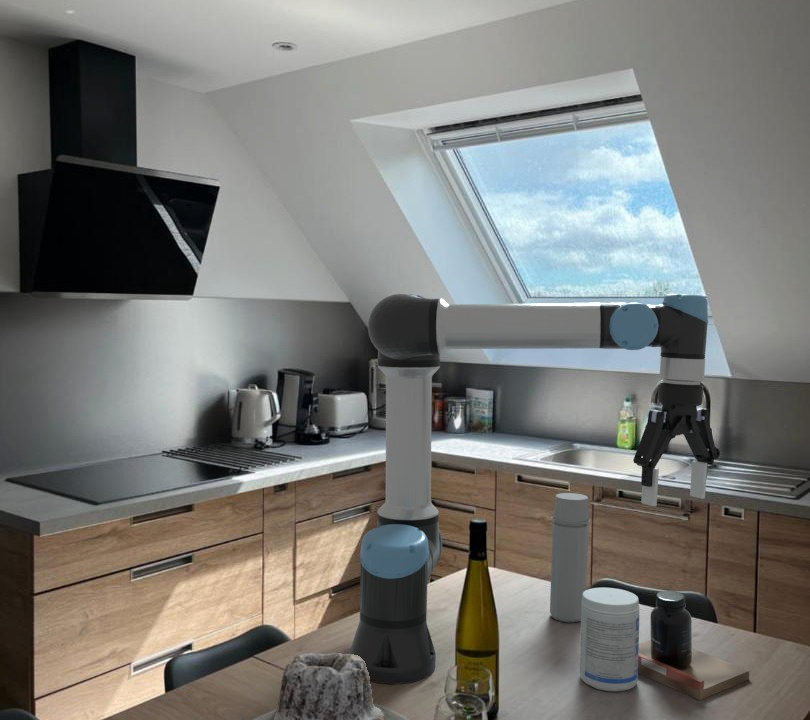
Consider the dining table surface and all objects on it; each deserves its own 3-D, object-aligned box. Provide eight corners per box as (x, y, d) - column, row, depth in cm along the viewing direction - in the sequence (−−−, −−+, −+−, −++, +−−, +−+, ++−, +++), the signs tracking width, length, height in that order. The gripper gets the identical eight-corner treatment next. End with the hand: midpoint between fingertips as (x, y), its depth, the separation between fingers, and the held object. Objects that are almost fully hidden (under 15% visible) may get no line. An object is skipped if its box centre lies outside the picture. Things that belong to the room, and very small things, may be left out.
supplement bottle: (644, 664, 145) (642, 597, 144) (660, 649, 150) (659, 585, 149) (683, 674, 141) (681, 605, 140) (698, 659, 146) (697, 592, 145)
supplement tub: (648, 690, 138) (651, 603, 137) (596, 696, 136) (599, 607, 135) (618, 666, 147) (621, 584, 147) (569, 671, 145) (572, 588, 144)
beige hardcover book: (611, 661, 149) (611, 644, 149) (661, 644, 158) (661, 628, 158) (698, 700, 135) (699, 682, 135) (748, 679, 143) (749, 662, 143)
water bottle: (585, 626, 166) (590, 501, 165) (545, 621, 168) (549, 498, 167) (588, 610, 175) (592, 492, 173) (551, 606, 177) (554, 489, 176)
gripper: (706, 379, 158) (698, 490, 159) (616, 381, 143) (609, 503, 145) (741, 382, 152) (734, 498, 153) (652, 385, 137) (644, 512, 139)
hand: (673, 501), depth 149 cm, fingers open, 13 cm apart
